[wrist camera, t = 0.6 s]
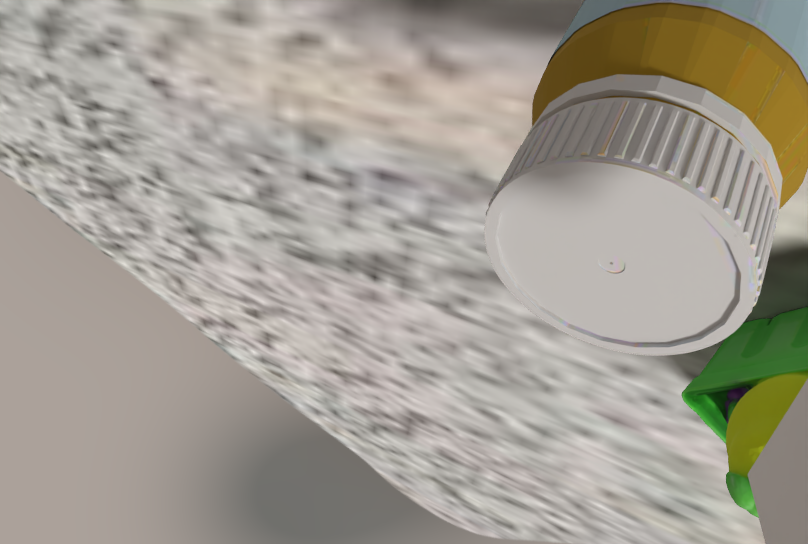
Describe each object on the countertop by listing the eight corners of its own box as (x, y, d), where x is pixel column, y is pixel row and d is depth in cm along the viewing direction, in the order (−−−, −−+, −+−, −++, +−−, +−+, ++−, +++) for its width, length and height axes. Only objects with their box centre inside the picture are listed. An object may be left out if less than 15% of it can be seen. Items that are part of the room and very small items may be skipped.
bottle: (778, 71, 28) (682, 404, 20) (602, -7, 29) (438, 281, 21) (915, -112, 22) (861, 249, 14) (690, -203, 23) (513, 87, 15)
